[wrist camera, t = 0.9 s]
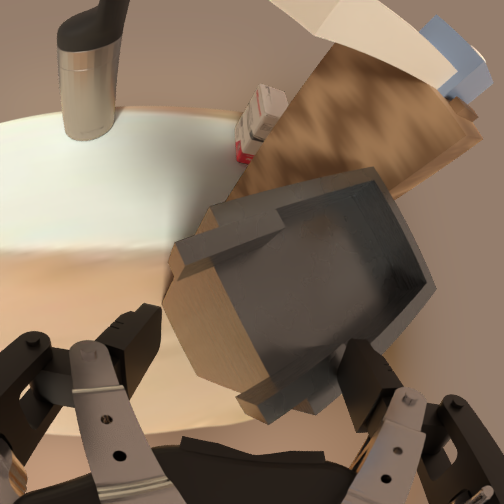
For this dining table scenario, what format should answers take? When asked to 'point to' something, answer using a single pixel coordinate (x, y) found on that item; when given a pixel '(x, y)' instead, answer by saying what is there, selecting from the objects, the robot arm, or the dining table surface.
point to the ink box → (258, 121)
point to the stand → (361, 128)
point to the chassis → (294, 288)
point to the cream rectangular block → (397, 42)
